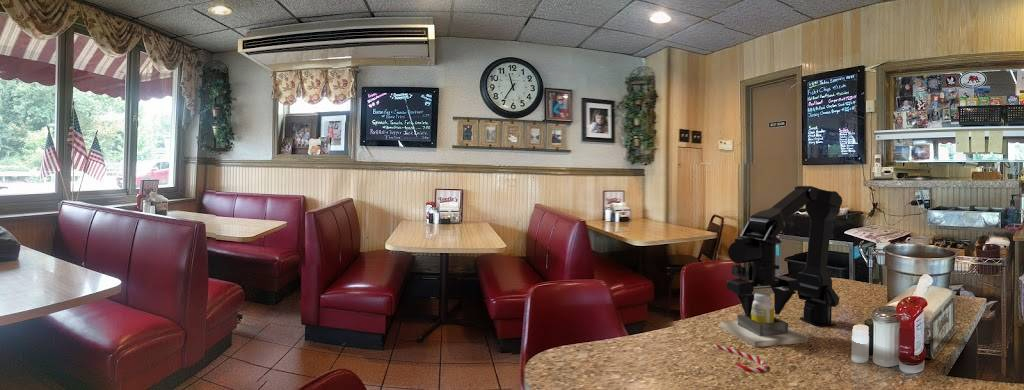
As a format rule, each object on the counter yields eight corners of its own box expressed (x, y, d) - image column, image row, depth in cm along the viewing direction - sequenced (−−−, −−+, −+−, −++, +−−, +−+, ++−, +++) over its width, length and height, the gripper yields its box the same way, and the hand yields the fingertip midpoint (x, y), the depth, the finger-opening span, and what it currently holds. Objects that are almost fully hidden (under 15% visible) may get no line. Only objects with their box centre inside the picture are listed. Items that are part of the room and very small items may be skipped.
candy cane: (722, 341, 111) (777, 365, 97) (722, 346, 111) (776, 370, 97) (700, 346, 108) (753, 371, 94) (700, 351, 108) (753, 377, 94)
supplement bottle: (767, 325, 119) (768, 292, 119) (777, 333, 114) (778, 297, 114) (747, 325, 120) (748, 291, 120) (756, 332, 115) (757, 297, 114)
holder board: (768, 323, 125) (768, 308, 125) (808, 342, 112) (808, 325, 111) (719, 327, 123) (720, 312, 123) (754, 347, 109) (755, 330, 109)
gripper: (771, 253, 125) (769, 304, 126) (714, 255, 122) (713, 308, 123) (802, 260, 114) (800, 316, 115) (741, 264, 111) (740, 321, 112)
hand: (762, 315), depth 117 cm, fingers open, 9 cm apart
